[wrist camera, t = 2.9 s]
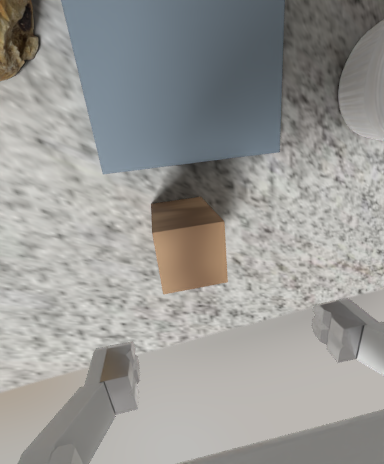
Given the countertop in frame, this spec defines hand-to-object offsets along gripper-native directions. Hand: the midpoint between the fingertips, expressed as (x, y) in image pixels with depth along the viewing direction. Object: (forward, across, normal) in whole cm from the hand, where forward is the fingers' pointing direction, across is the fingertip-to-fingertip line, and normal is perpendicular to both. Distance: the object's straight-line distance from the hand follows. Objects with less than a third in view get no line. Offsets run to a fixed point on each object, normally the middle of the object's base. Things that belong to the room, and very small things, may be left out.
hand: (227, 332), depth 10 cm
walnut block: (+15, 0, 0) cm, 15 cm away
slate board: (+15, -2, -12) cm, 19 cm away
